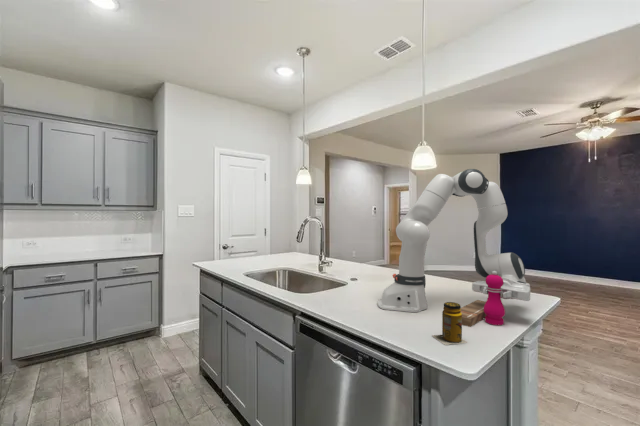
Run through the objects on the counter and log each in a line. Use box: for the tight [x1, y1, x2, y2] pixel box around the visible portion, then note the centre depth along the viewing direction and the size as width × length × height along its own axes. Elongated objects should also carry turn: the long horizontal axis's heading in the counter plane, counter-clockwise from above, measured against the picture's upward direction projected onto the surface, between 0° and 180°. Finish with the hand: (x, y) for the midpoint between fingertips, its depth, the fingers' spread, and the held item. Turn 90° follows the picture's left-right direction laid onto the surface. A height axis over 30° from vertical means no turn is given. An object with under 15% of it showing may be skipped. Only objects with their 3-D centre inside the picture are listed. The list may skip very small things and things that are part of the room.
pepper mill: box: [484, 271, 506, 326], centre depth 117 cm, size 7×7×20 cm
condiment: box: [431, 301, 468, 346], centre depth 102 cm, size 7×8×12 cm
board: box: [460, 299, 487, 328], centre depth 125 cm, size 28×8×3 cm, turn 132°
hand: (493, 293), depth 116 cm, fingers closed on pepper mill, 5 cm apart
